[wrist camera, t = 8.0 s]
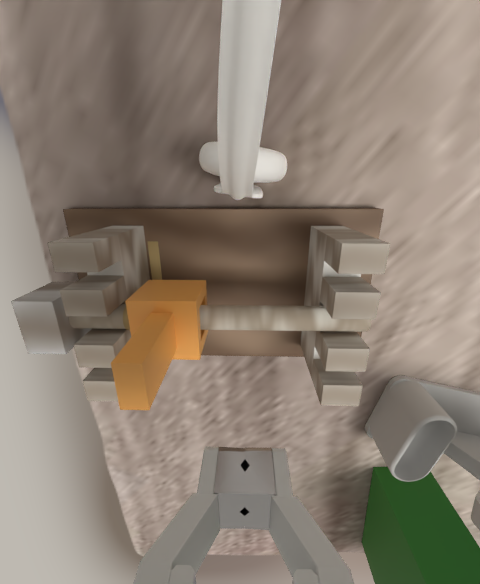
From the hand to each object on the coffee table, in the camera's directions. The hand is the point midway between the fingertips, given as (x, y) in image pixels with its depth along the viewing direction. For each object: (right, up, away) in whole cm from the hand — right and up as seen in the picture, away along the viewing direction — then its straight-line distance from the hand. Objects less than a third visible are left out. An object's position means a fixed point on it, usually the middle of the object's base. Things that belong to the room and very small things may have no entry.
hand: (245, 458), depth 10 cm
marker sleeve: (-6, +5, +14) cm, 16 cm away
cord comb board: (-2, +7, +19) cm, 21 cm away
